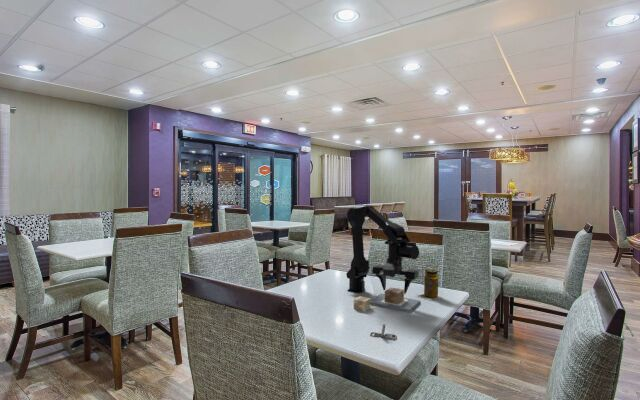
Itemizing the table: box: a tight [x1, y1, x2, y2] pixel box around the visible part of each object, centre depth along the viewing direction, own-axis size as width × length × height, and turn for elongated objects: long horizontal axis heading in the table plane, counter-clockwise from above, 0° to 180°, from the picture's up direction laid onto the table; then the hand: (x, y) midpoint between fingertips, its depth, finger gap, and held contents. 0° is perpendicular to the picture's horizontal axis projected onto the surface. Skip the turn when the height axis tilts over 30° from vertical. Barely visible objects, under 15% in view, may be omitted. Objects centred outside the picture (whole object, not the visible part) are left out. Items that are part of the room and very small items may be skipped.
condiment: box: [416, 269, 442, 301], centre depth 159 cm, size 7×8×12 cm
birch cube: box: [353, 296, 371, 312], centre depth 143 cm, size 5×5×4 cm
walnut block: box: [384, 287, 405, 304], centre depth 149 cm, size 6×7×4 cm
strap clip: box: [369, 323, 397, 341], centre depth 116 cm, size 8×3×4 cm, turn 69°
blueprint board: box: [370, 293, 421, 313], centre depth 149 cm, size 18×14×1 cm
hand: (394, 291), depth 149 cm, fingers open, 9 cm apart
